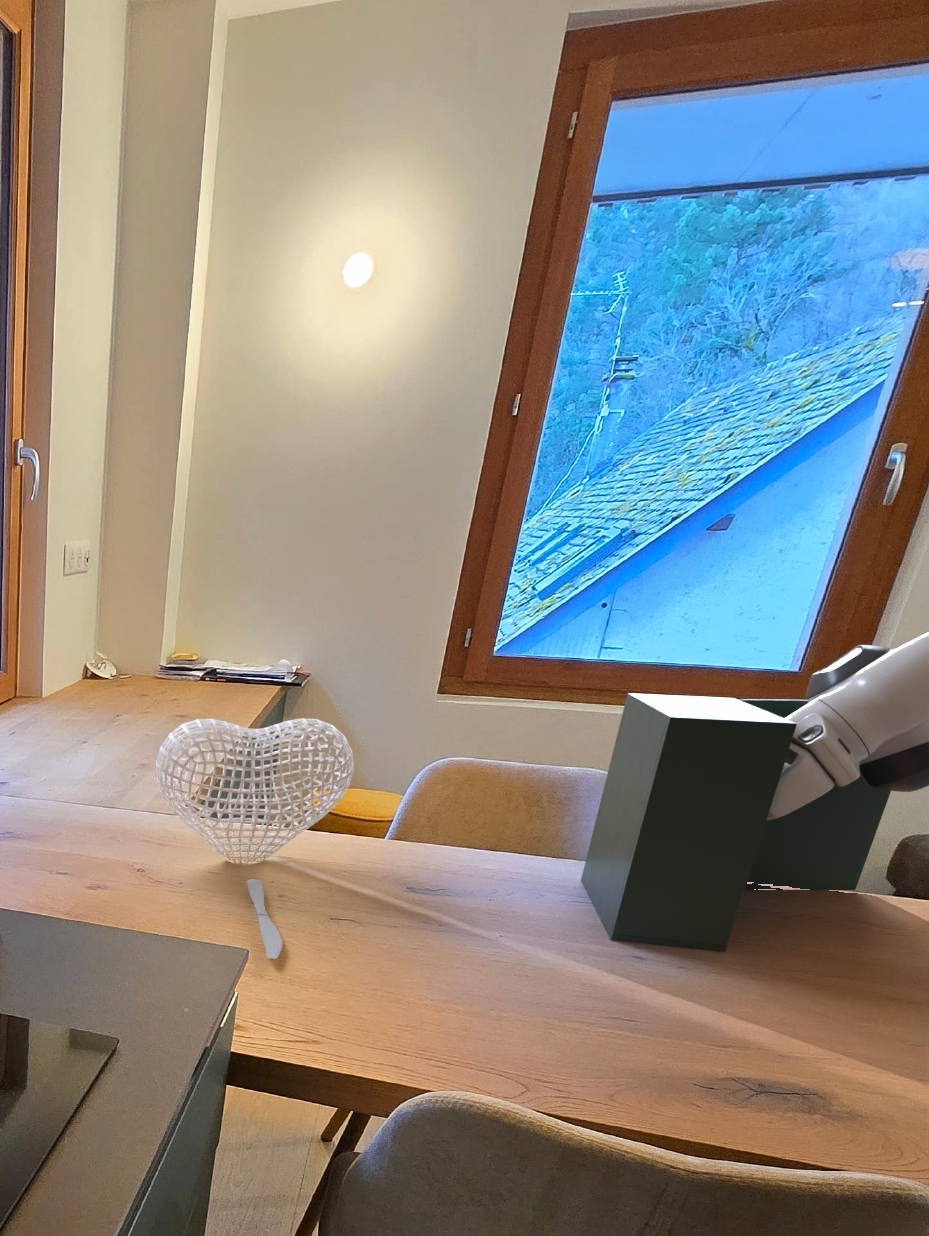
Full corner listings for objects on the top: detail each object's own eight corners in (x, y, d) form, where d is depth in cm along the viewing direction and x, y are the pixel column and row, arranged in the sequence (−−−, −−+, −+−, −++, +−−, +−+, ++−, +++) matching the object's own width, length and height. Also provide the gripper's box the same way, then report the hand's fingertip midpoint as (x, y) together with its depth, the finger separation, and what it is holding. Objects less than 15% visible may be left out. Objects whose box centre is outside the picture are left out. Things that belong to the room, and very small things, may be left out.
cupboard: (675, 900, 142) (734, 697, 131) (723, 956, 122) (797, 723, 112) (578, 890, 145) (627, 693, 135) (609, 943, 126) (670, 717, 115)
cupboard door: (655, 886, 147) (710, 693, 136) (815, 889, 146) (881, 694, 136) (684, 901, 141) (743, 699, 130) (850, 904, 140) (923, 701, 130)
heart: (324, 851, 161) (344, 708, 151) (350, 886, 147) (373, 731, 137) (145, 850, 163) (154, 709, 154) (154, 884, 149) (164, 731, 140)
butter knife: (267, 878, 144) (245, 876, 144) (287, 959, 120) (261, 957, 120) (266, 882, 144) (245, 880, 144) (286, 964, 120) (261, 961, 121)
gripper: (768, 711, 130) (658, 782, 137) (830, 737, 112) (701, 817, 119) (798, 749, 130) (688, 818, 137) (865, 781, 112) (734, 858, 119)
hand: (694, 817), depth 128 cm, fingers closed
